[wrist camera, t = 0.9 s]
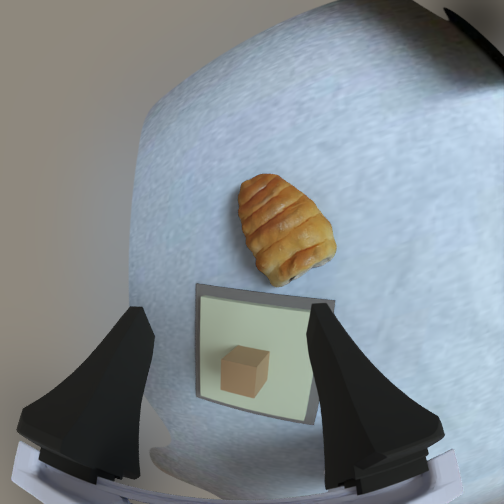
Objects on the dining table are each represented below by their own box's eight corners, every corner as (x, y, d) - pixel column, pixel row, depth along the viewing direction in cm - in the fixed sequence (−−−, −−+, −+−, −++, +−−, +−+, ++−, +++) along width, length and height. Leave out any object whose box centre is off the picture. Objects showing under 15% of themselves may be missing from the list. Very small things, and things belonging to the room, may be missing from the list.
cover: (305, 416, 22) (295, 442, 18) (204, 392, 26) (182, 410, 22) (322, 311, 22) (315, 325, 18) (205, 295, 26) (179, 303, 21)
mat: (313, 424, 22) (313, 425, 22) (197, 396, 27) (196, 396, 26) (335, 300, 22) (335, 300, 21) (197, 283, 26) (196, 283, 26)
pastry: (227, 203, 25) (207, 197, 21) (286, 160, 23) (275, 145, 19) (280, 291, 23) (267, 299, 20) (346, 250, 21) (347, 250, 18)
